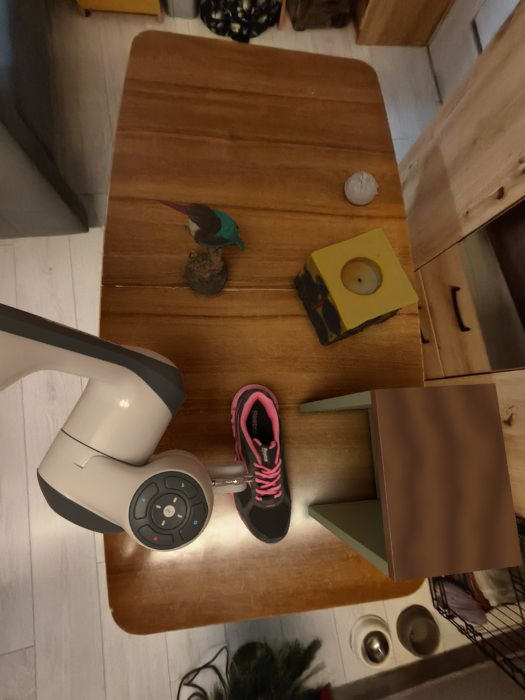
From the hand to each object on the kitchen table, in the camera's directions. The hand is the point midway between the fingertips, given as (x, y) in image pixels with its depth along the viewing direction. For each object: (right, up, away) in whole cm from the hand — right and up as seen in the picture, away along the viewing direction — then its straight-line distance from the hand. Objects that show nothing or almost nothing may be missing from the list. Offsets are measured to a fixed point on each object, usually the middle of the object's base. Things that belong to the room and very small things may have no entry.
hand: (176, 473), depth 67 cm
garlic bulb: (+33, +52, +24) cm, 66 cm away
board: (+34, +5, -18) cm, 39 cm away
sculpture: (+2, +34, +16) cm, 38 cm away
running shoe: (+12, -1, +11) cm, 17 cm away
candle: (+29, +29, +19) cm, 45 cm away
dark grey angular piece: (+29, 0, +14) cm, 32 cm away
